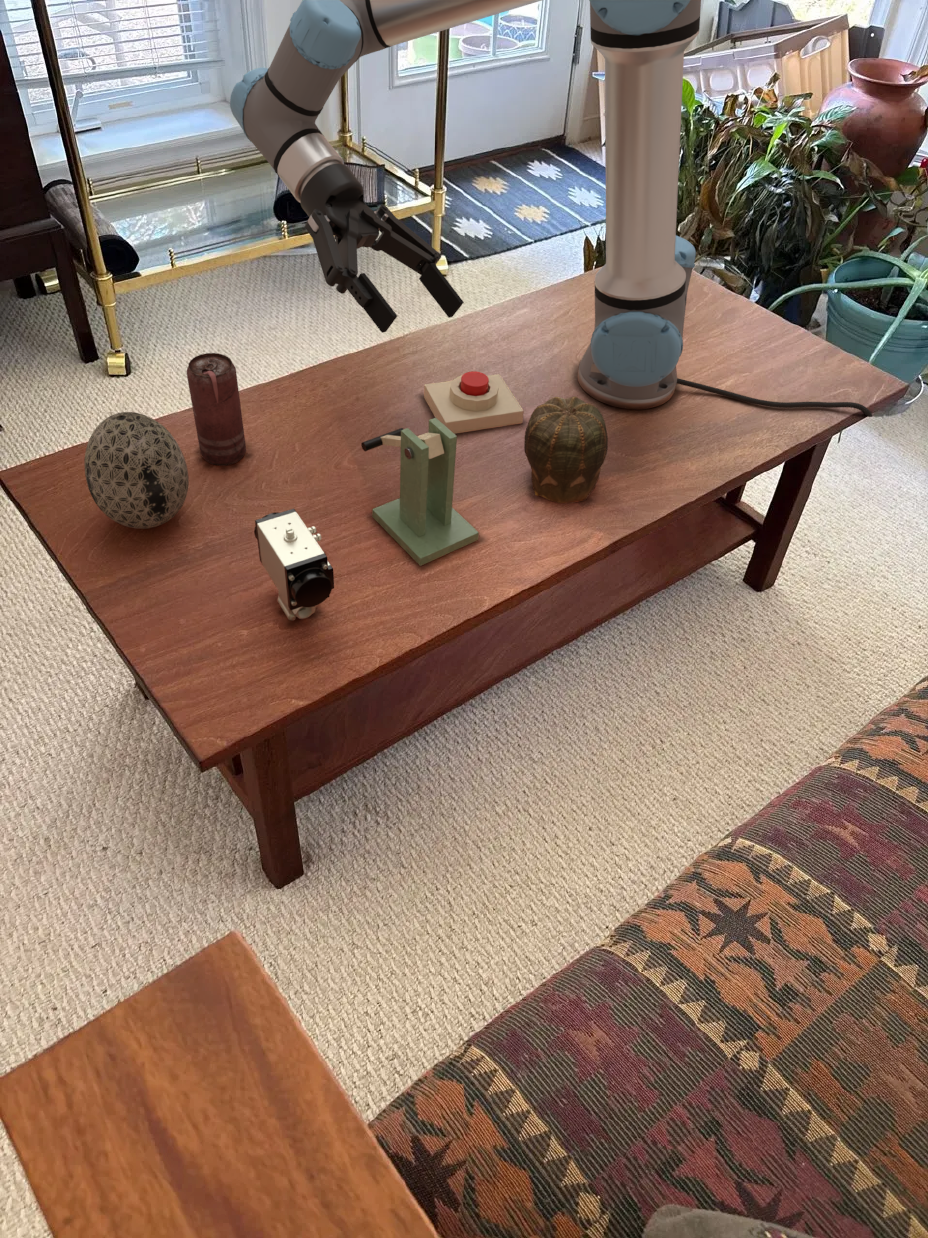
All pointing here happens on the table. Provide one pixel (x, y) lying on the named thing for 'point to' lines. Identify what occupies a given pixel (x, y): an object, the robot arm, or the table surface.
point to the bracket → (426, 500)
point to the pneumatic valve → (294, 562)
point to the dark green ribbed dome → (565, 449)
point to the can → (216, 408)
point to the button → (474, 383)
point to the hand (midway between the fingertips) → (424, 317)
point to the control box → (473, 405)
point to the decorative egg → (135, 471)
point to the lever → (395, 440)
